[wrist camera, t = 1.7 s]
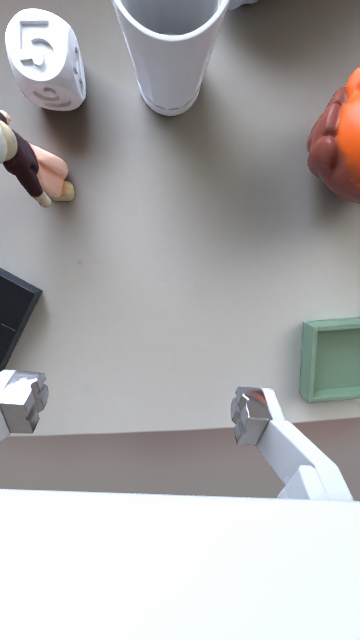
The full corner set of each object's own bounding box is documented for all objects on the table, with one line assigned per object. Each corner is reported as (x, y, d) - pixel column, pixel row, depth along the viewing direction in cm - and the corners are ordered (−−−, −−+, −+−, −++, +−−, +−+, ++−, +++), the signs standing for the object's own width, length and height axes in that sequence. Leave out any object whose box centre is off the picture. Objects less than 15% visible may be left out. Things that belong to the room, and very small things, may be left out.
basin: (299, 392, 37) (308, 403, 35) (303, 321, 35) (313, 327, 32) (379, 386, 38) (393, 395, 35) (389, 314, 35) (405, 320, 32)
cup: (133, 127, 28) (109, 44, 17) (125, 31, 26) (90, -140, 15) (210, 123, 28) (239, 38, 17) (207, 28, 26) (239, -144, 15)
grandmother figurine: (91, 198, 30) (37, 164, 18) (63, 218, 30) (-8, 199, 18) (44, 129, 28) (-52, 38, 16) (15, 152, 28) (-101, 80, 16)
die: (82, 50, 26) (63, 7, 22) (88, 111, 28) (72, 82, 23) (29, 51, 26) (-2, 7, 21) (38, 112, 27) (11, 83, 23)
